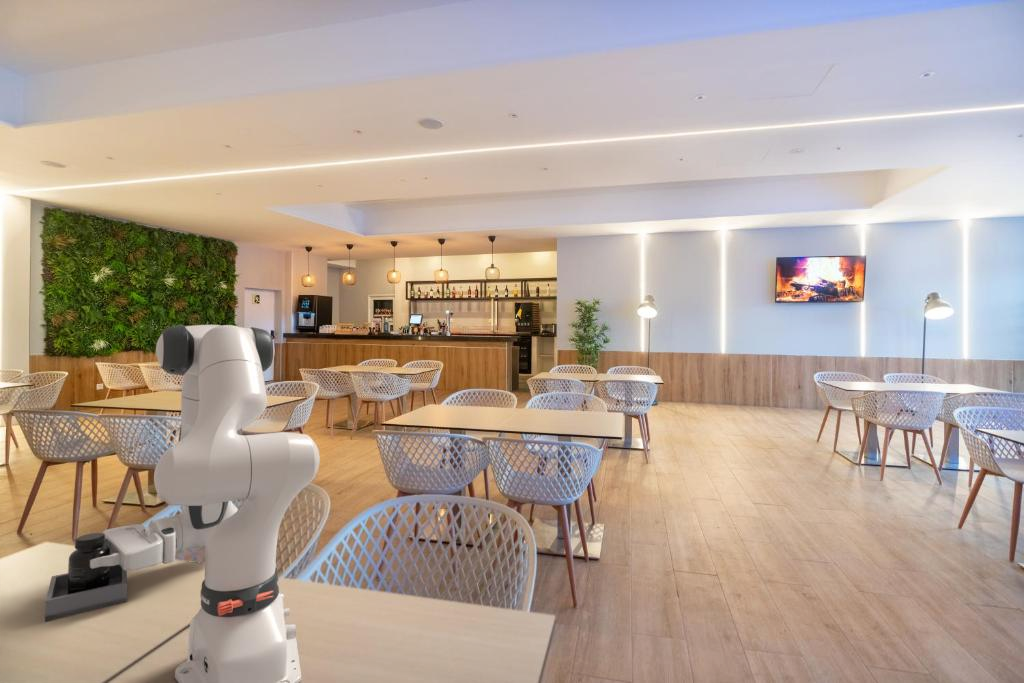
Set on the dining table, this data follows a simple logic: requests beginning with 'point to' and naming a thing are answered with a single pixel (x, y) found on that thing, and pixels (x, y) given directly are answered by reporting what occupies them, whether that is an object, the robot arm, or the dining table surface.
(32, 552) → the dining table surface
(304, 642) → the dining table surface
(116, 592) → the tray
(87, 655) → the dining table surface
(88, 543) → the supplement bottle
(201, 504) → the robot arm
